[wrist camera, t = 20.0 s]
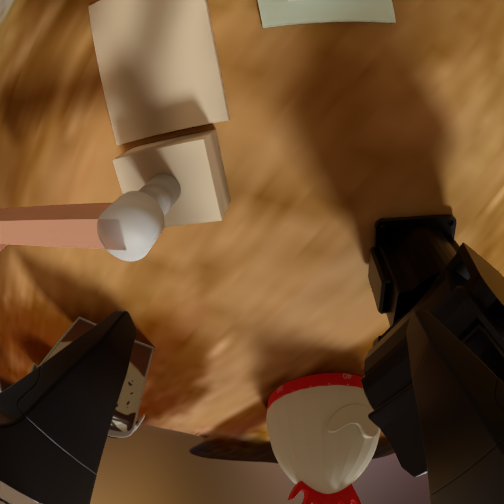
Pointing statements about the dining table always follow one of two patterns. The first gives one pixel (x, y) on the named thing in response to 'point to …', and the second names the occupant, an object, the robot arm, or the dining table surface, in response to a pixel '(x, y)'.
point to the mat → (324, 11)
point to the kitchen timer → (322, 435)
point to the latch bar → (88, 225)
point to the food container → (133, 383)
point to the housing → (164, 102)
